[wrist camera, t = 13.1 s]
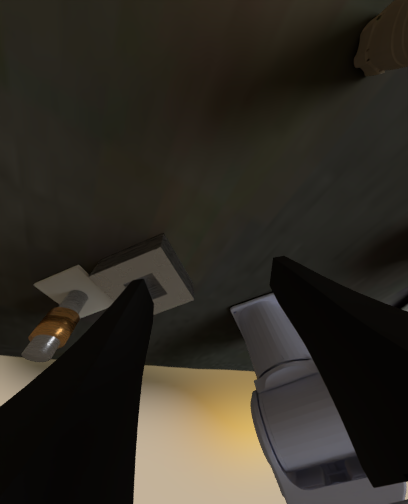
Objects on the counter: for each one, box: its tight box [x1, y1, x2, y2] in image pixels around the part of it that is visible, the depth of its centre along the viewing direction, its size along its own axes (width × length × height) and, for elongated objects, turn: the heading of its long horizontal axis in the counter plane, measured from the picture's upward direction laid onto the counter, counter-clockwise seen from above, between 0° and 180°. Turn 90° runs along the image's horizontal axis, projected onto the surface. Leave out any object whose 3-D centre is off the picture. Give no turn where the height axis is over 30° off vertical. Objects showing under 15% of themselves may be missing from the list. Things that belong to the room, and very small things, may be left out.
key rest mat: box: [34, 265, 114, 318], centre depth 21 cm, size 7×6×1 cm
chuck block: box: [88, 233, 194, 315], centre depth 20 cm, size 8×8×3 cm
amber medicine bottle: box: [22, 290, 88, 362], centre depth 18 cm, size 3×3×7 cm
